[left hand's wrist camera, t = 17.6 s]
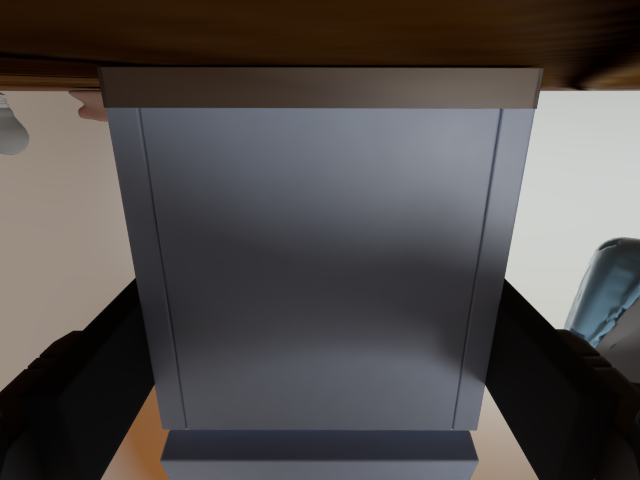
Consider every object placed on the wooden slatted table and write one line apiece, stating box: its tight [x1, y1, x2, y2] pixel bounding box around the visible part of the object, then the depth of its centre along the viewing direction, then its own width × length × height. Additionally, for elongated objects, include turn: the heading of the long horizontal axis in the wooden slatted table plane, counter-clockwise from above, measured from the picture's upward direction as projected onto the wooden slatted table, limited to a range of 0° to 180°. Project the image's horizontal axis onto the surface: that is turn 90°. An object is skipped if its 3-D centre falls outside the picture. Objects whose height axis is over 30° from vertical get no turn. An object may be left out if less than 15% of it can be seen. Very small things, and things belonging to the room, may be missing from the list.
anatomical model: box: [69, 90, 108, 122], centre depth 42 cm, size 13×4×12 cm
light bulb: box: [0, 93, 29, 155], centre depth 65 cm, size 6×6×10 cm
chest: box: [97, 67, 544, 430], centre depth 18 cm, size 17×10×10 cm, turn 0°
